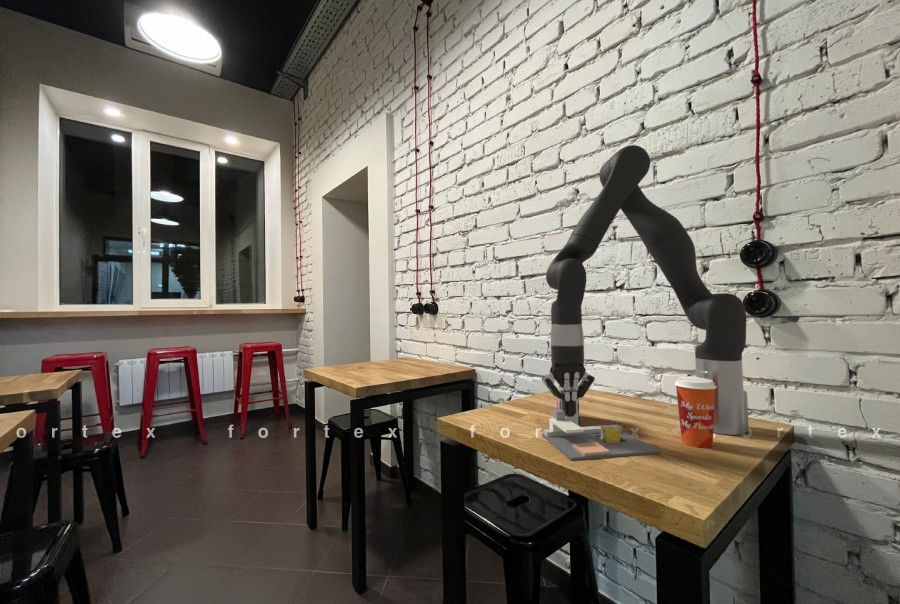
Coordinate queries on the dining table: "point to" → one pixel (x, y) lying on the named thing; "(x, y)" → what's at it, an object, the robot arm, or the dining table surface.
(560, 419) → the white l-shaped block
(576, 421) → the candy bar box
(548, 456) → the dining table surface
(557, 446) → the puzzle board
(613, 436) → the alphabet block
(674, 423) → the dining table surface
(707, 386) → the paper cup
